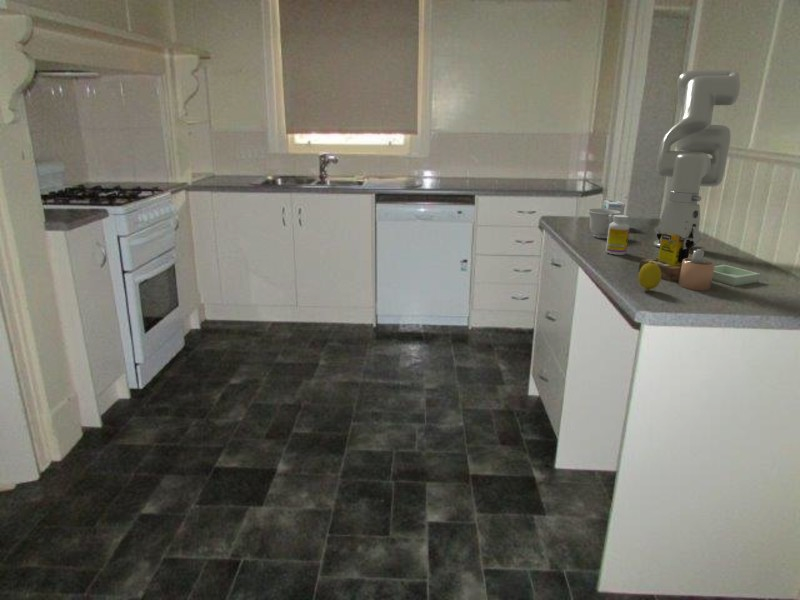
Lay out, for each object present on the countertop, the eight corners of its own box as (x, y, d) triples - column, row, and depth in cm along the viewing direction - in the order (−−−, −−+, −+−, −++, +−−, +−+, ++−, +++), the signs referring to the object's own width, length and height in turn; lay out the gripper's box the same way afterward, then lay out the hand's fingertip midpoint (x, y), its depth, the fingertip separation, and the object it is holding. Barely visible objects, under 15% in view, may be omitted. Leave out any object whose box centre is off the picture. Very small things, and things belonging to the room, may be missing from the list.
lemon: (632, 287, 155) (637, 259, 153) (652, 287, 156) (656, 259, 153) (642, 293, 150) (647, 264, 147) (662, 293, 150) (667, 264, 148)
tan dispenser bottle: (691, 280, 163) (697, 245, 160) (716, 288, 156) (724, 251, 153) (671, 283, 160) (678, 247, 156) (697, 291, 153) (704, 253, 150)
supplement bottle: (627, 256, 191) (633, 218, 187) (606, 254, 192) (611, 217, 188) (624, 251, 197) (629, 214, 193) (604, 250, 198) (609, 213, 194)
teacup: (592, 241, 213) (596, 214, 210) (580, 233, 227) (583, 208, 224) (625, 241, 213) (629, 215, 210) (610, 234, 227) (614, 208, 224)
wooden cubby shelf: (670, 267, 178) (672, 255, 177) (702, 275, 169) (704, 263, 167) (638, 271, 172) (640, 259, 171) (669, 280, 162) (671, 268, 161)
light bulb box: (600, 224, 247) (603, 199, 243) (616, 225, 246) (619, 200, 243) (605, 229, 237) (608, 203, 233) (621, 230, 236) (625, 204, 232)
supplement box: (672, 273, 166) (679, 236, 163) (655, 268, 171) (661, 233, 168) (686, 271, 169) (693, 235, 165) (669, 267, 174) (675, 231, 170)
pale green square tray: (722, 272, 173) (724, 264, 172) (758, 282, 163) (760, 273, 162) (698, 276, 168) (700, 268, 167) (733, 286, 159) (735, 277, 158)
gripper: (719, 201, 157) (707, 264, 163) (666, 193, 172) (657, 252, 178) (701, 202, 154) (689, 267, 160) (649, 194, 169) (640, 254, 174)
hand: (672, 258), depth 169 cm, fingers closed on supplement box, 6 cm apart
